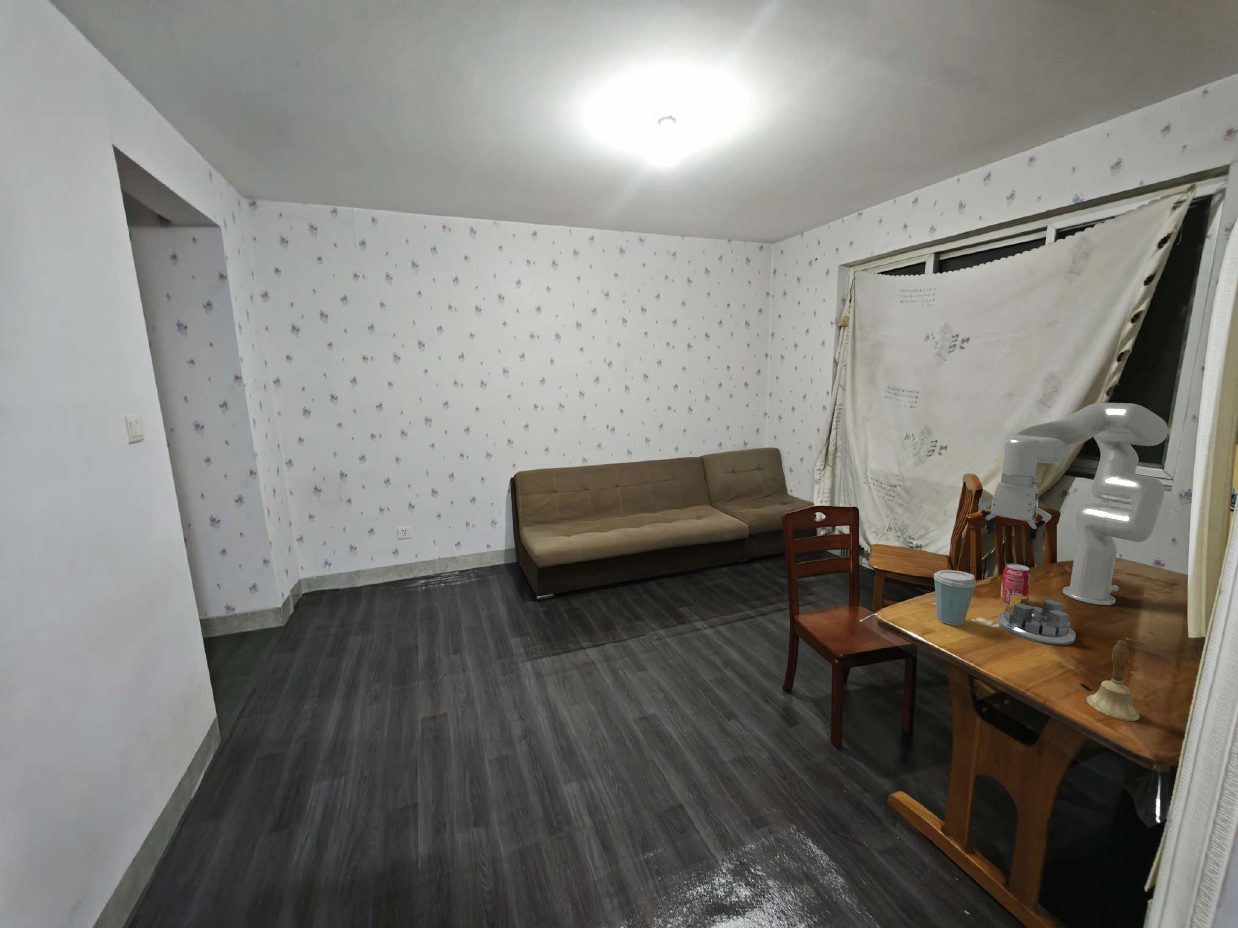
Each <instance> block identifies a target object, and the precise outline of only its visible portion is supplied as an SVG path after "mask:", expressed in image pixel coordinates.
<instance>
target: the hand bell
mask: <svg viewBox="0 0 1238 928" xmlns="http://www.w3.org/2000/svg"><path fill="white" fill-rule="evenodd" d="M1111 651H1112V652H1111V661H1112V664H1113V668H1112V673H1111V680H1104V681H1102V682H1101V683H1100V686H1099V688H1098V690H1097V691H1096V692H1095V693H1094V694H1090V695H1088V696H1087V697H1086V699H1085V700H1086V704H1088V705H1089V706H1090V707H1091V708H1092V709H1093V710H1095V711H1096V712H1098V713H1100V714H1103V715H1105V716H1107V717H1110V718H1113V719H1116V720H1120V721H1124V722H1136V721H1138V720H1140V718H1141V716H1140V714H1139V712H1138V710H1137V709H1136V708H1135V707H1134V706H1133V704H1132V703H1133V702H1132V698H1131V689H1130V688H1129V687H1128V686H1126V685H1124V684H1123V683H1124V681H1123V680H1124V671H1125V668H1126V666H1127V665H1128V663H1129V660H1130V650H1129V647H1128V642H1127V641H1125V640H1122V639H1119V640H1117V643H1116V644H1115V645H1114V647H1113V648H1112V650H1111Z"/></svg>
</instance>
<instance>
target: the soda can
mask: <svg viewBox="0 0 1238 928" xmlns="http://www.w3.org/2000/svg"><path fill="white" fill-rule="evenodd" d="M1002 573H1003V574H1002V576H1001V577H1002V579H1001V587H1000V598H1001V599H1002V600H1003V601H1004V602H1006V603H1008V604H1010V597H1011V595H1015V594H1020V595H1022V596H1025V597H1027V598H1030V597H1029V595H1030V589H1031V583H1032V574H1031V571H1030V568H1029V567H1028V566H1026V565H1022V564H1018V563H1006V567H1004V568H1003V572H1002Z"/></svg>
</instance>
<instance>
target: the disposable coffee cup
mask: <svg viewBox="0 0 1238 928" xmlns="http://www.w3.org/2000/svg"><path fill="white" fill-rule="evenodd" d="M933 579H934V589H935V591H934V593H935V606H936V608H935V609H936V616H937V617H936V618H937V620H938V621H940V622H941V623H943V624H946V625H948V626H949V625H950V626H955V627H956V626H957V627H958V626H959V627H960V626H962V625H963V623H965V620H966V617H967V614H968V611H969V607H970V605H971V602H972V597H973V596H974V595H973V594H974V592H975V589H976V587H977V581H976V578H975V574H972V573H969V572H966V571H961V570H952V569H951V570H950V569H945V570H944V569H943V570H939V571H936V572H935V573H934V574H933Z"/></svg>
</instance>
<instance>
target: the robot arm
mask: <svg viewBox="0 0 1238 928" xmlns="http://www.w3.org/2000/svg"><path fill="white" fill-rule="evenodd" d="M1168 434H1169V428H1168V424H1167V422H1166V421H1165V420H1164V419H1163V418H1162V417H1160V416H1159V415H1157V414H1156V413H1154V412H1153V411H1151V410H1150V409H1148V408H1146V407H1144V406H1142V405H1139V404H1136V403H1130V402H1129V403H1126V402H1123V403H1122V402H1120V403H1119V402H1095V403H1091V404H1089V405H1087V406H1084V407H1082V408H1081V409H1079V410H1077V411H1075V412H1073V413H1071V414H1070V415H1068V416H1067V417H1064V418H1063V419H1062V418H1061V419H1055V420H1052V421H1047V422H1042V423H1037V424H1034V425H1031V426H1028V427H1025V428H1023V429H1021V430H1019V431H1017V432H1015V433H1013V434H1012V435H1011V436H1010V437H1009V438H1008V439H1007V440H1006V442H1005V443H1004V454H1003V455H1004V456H1003V462H1002V469H1001V478H1000V482H998V483H997V485H996V488H995V491H994V493H993V497H992V500H989V501H985V502H980V503H978V505H977V506H978V508H979V510H980V513H981V514H982V516H983V517H984V519H985V520H986V525H985V530H987V534H992V533H994V532H995V526H996V519H995V518H996V517H1002V518H1007V519H1012V520H1013V519H1014V520H1017V521H1018V520H1019V521H1023V522H1025V521H1026V522H1027V523H1028V525H1029V526H1030V527H1029V528H1028V531H1027V538H1026V541H1027V542H1029V543H1031V542H1033V541H1034V540H1036V539H1037V535H1038V534H1037V533H1038V528H1040V527H1042V526H1045V525H1046V524H1047V523H1048V522H1049V521H1050V520H1051V519H1052V517H1053V516H1052V514H1050V513H1049V512H1047V511H1045V510H1044V509H1042V508H1040V507H1039V490H1038V486H1035V485H1036V484H1038V485H1039V484H1041V483H1042V479H1040V478H1038V477H1037V476H1036V471H1037V465H1038V463H1041V464H1056V463H1058V462H1061V461H1062V460H1063V459H1064V458H1065V457H1066V456H1067V454H1068V446H1071V445H1080V444H1083V443H1084V442H1087V441H1088V440H1091V439H1092V438H1093V439H1094V440H1095V443H1097V446H1098V448H1099V452H1100V459H1099V462H1098V466H1097V469H1096V472H1095V475H1094V478H1093V483H1092V487H1091V494H1092V495H1093V497H1094V498H1096V499H1099V500H1103V501H1108V502H1111V503H1117V504H1123V505H1129V506H1131V509H1130V508H1125V507H1119V506H1114V505H1108V504H1104V503H1095V502H1094V503H1093V502H1092V503H1086V504H1083V505H1082V506H1080V507H1079V508H1078V510H1077V512H1076V515H1075V520H1076V530H1077V531H1076V532H1077V533H1076V543H1075V551H1074V556H1073V563H1072V570H1071V576H1070V577H1071V578H1070V584H1069V586H1065V587H1063V588H1062V592H1063V594H1064V595H1066V596H1067V597H1069V598H1071V599H1074V600H1076V601H1080V602H1084V603H1087V604H1092V605H1100V606H1112V605H1114V604H1116V603H1117V602H1116V598H1115V597H1114V596H1113V595H1111V593H1112V592H1118V591H1119V590H1120V588H1119V586H1118V585H1117V584H1112V582H1113V575H1114V570H1115V564H1116V559H1117V558H1116V557H1117V554H1118V549H1117V545H1116V543H1115V541H1114V539H1113V538H1116V539H1120V540H1123V541H1129V542H1134V543H1140V542H1141V543H1142V542H1145V541H1147V540H1148V539H1149V538H1150V536H1151V535H1152V533H1153V532H1154V529H1155V526H1156V522H1157V519H1158V516H1159V515H1160V510H1161V507H1162V504H1163V501H1164V497H1165V486H1164V484H1163V482H1162V481H1161V480H1159V479H1158V478H1156V477H1153V476H1147V475H1142V474H1141V475H1140V474H1136V471H1137V467H1138V463H1139V455H1138V453H1137V452H1136V450H1135V449H1134V448H1133V446H1132V445H1134V446H1135V445H1136V446H1146V447H1151V446H1152V447H1153V446H1158V445H1159V444H1161V443H1163V442H1164V441H1165V439H1166V438H1167V436H1168ZM988 506H991V507H990V512H989V510H988V509H987V507H988ZM1038 515H1040V516H1041V517H1042V519H1040V520H1038V521H1037V519H1036V518H1037V517H1038Z"/></svg>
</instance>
